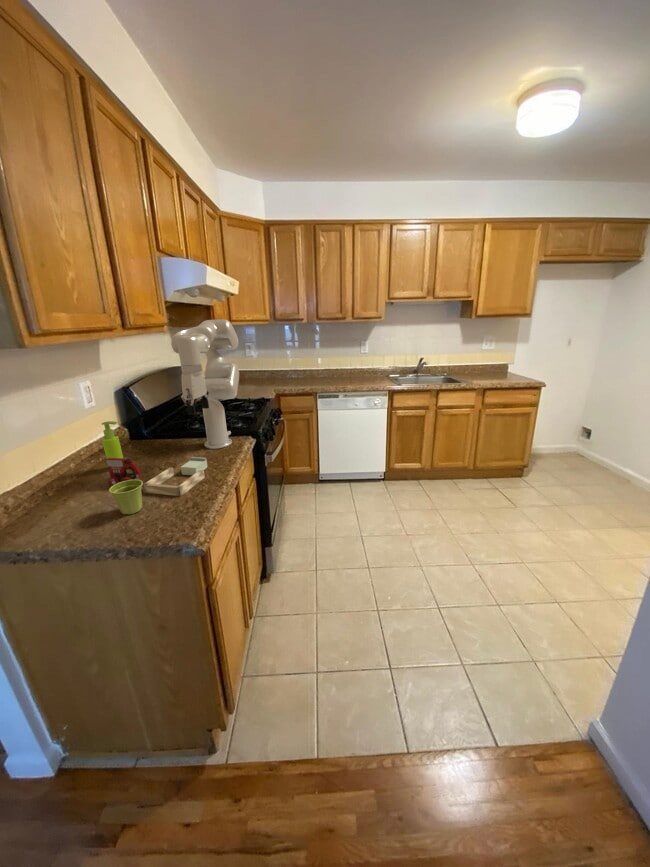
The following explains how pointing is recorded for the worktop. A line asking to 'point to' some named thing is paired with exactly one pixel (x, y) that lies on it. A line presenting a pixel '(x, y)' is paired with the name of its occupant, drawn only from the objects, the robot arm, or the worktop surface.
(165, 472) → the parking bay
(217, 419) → the robot arm
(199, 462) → the pale green block
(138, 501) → the plant pot
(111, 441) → the soap dispenser
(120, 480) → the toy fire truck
